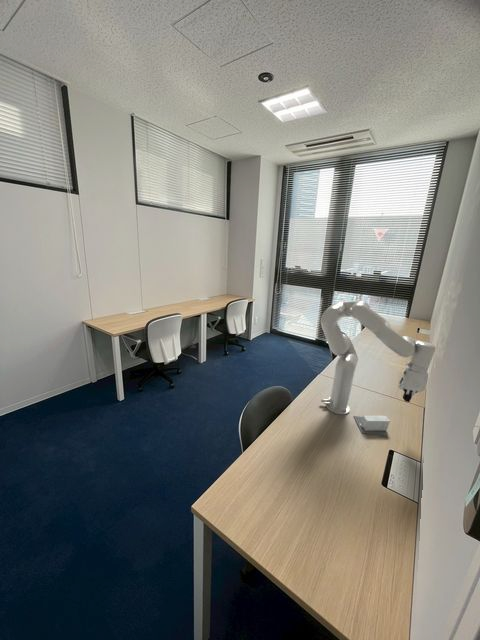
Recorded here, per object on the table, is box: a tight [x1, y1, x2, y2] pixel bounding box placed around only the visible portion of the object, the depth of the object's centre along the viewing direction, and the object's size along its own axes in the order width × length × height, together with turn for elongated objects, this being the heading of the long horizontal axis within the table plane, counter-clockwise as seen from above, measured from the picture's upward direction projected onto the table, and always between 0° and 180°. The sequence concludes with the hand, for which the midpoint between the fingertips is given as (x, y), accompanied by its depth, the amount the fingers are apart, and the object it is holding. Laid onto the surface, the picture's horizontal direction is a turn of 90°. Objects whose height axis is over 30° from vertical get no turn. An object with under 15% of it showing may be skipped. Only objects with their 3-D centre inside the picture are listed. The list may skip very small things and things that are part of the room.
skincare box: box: [361, 415, 391, 431], centre depth 132 cm, size 6×4×12 cm
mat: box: [353, 415, 388, 438], centre depth 134 cm, size 12×13×1 cm
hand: (406, 400), depth 128 cm, fingers closed
